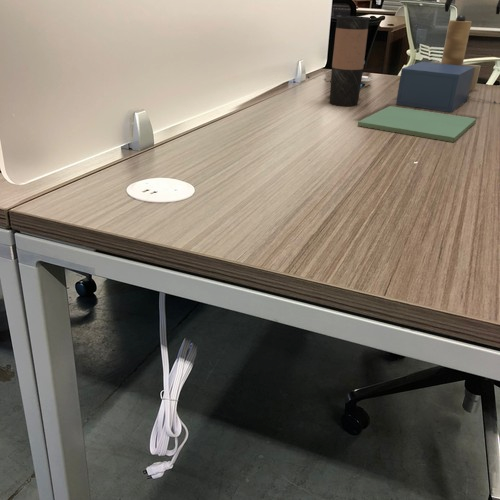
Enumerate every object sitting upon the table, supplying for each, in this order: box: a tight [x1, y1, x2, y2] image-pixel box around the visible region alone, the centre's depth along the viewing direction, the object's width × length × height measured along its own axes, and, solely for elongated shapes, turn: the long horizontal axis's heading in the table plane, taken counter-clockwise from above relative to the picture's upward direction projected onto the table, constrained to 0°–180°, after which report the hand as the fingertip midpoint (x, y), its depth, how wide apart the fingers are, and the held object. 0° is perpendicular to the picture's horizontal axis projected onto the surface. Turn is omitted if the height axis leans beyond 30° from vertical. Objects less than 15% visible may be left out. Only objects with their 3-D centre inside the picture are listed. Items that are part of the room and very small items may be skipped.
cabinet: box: [395, 61, 474, 113], centre depth 130 cm, size 17×14×9 cm
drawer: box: [433, 60, 481, 92], centre depth 141 cm, size 20×13×7 cm, turn 147°
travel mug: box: [329, 15, 370, 107], centre depth 124 cm, size 8×8×20 cm
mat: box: [357, 105, 477, 143], centre depth 110 cm, size 20×20×1 cm
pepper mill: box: [440, 14, 473, 66], centre depth 137 cm, size 6×6×18 cm
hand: (471, 9), depth 140 cm, fingers open, 13 cm apart
